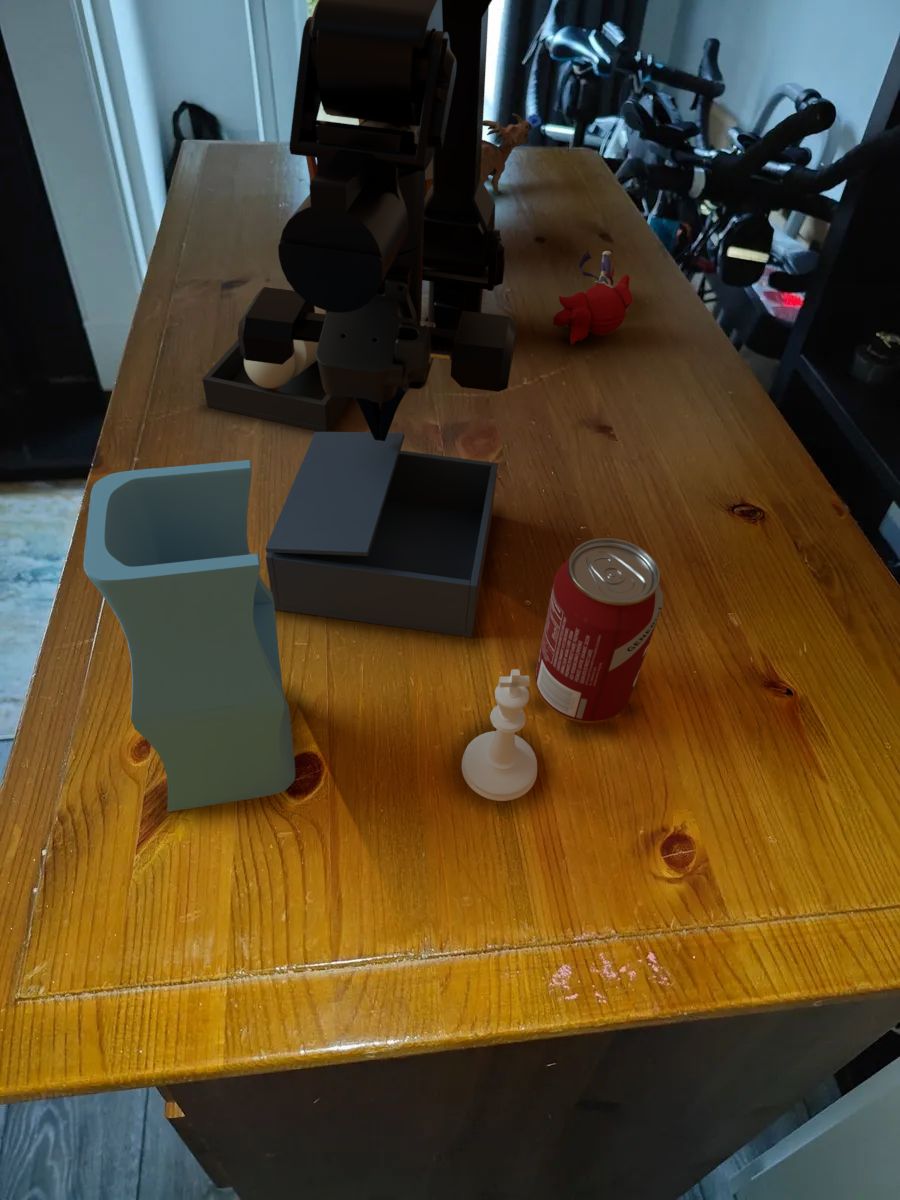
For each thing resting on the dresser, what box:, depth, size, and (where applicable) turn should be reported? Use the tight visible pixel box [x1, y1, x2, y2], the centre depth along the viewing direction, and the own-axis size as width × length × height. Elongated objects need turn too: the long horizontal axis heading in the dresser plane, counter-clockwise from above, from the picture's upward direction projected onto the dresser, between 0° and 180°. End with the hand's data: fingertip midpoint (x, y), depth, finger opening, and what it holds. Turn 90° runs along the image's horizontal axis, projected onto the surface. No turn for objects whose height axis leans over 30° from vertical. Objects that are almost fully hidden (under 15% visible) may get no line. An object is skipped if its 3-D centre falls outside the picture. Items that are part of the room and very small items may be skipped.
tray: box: [202, 339, 352, 432], centre depth 84 cm, size 16×12×3 cm
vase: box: [83, 459, 296, 813], centre depth 47 cm, size 8×8×20 cm
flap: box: [264, 431, 405, 556], centre depth 63 cm, size 14×7×1 cm, turn 172°
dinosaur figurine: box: [481, 113, 533, 195], centre depth 115 cm, size 14×6×9 cm, turn 139°
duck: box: [244, 307, 326, 391], centre depth 80 cm, size 8×6×13 cm
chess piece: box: [461, 668, 538, 802], centre depth 51 cm, size 5×5×10 cm
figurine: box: [552, 249, 634, 345], centre depth 93 cm, size 6×8×15 cm
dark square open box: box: [265, 450, 499, 638], centre depth 65 cm, size 14×15×6 cm
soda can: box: [534, 537, 664, 724], centre depth 55 cm, size 7×7×12 cm
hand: (381, 437), depth 65 cm, fingers closed
